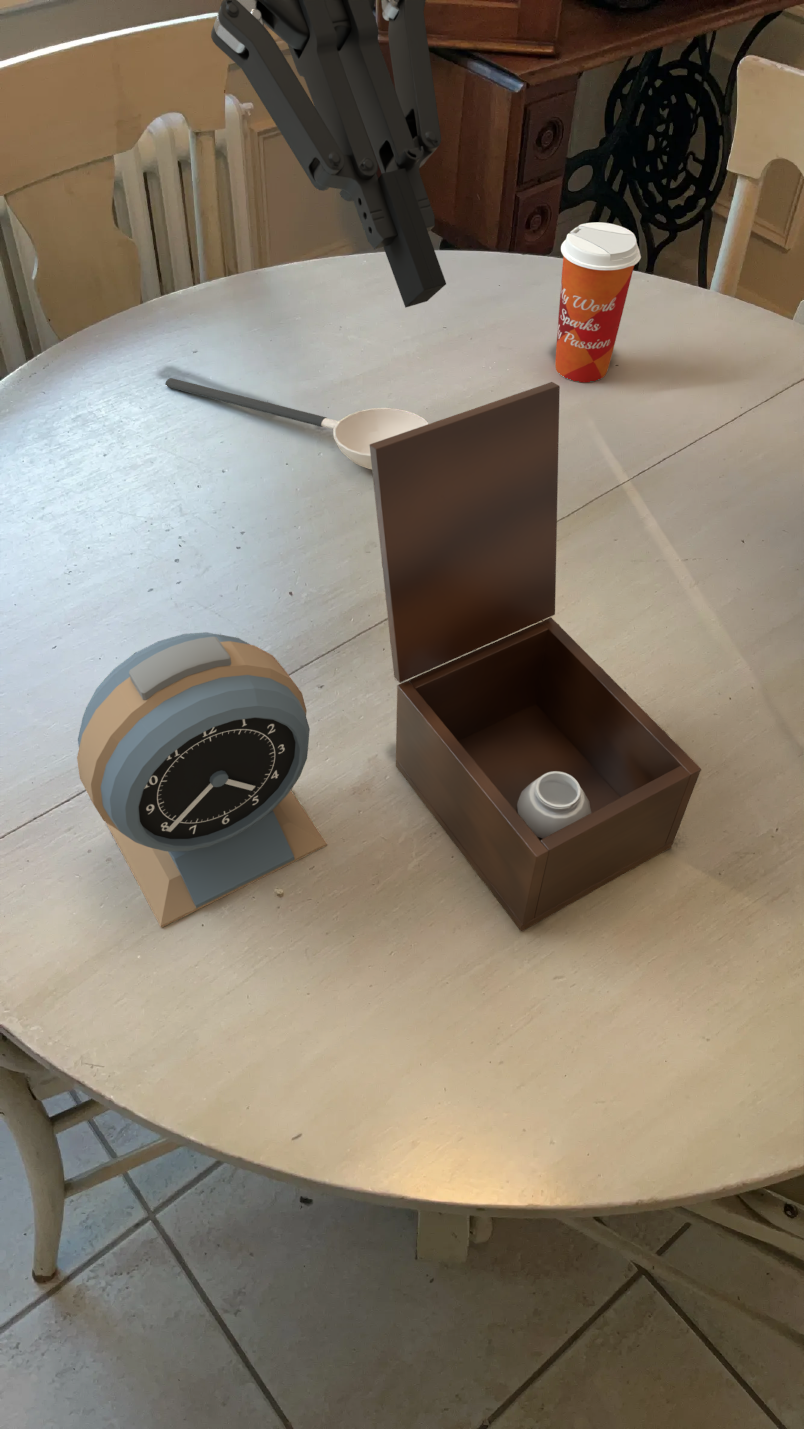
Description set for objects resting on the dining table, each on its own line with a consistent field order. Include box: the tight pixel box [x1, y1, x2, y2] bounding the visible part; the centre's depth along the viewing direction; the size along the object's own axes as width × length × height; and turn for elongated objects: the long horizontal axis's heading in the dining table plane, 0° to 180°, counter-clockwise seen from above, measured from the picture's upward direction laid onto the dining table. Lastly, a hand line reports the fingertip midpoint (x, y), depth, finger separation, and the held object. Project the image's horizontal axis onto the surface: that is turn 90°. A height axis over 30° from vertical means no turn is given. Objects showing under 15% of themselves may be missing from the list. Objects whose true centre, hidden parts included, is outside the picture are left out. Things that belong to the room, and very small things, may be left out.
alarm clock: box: [76, 631, 328, 929], centre depth 66 cm, size 14×10×18 cm
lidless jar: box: [517, 771, 591, 838], centre depth 72 cm, size 5×3×5 cm
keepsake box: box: [395, 616, 702, 933], centre depth 71 cm, size 16×13×9 cm
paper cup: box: [555, 221, 642, 383], centre depth 107 cm, size 8×8×14 cm
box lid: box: [370, 381, 561, 684], centre depth 67 cm, size 17×13×1 cm
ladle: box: [164, 377, 430, 470], centre depth 103 cm, size 8×31×4 cm, turn 60°
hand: (425, 295), depth 60 cm, fingers closed
